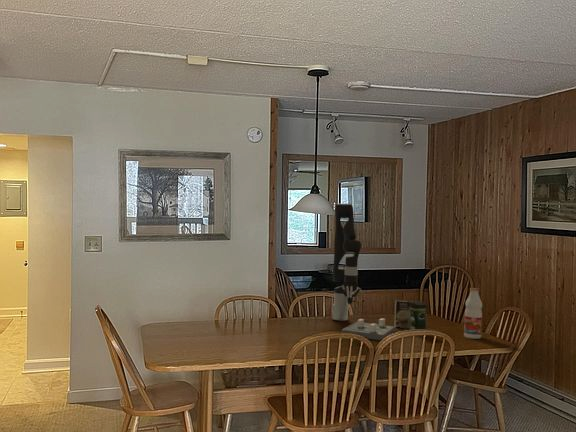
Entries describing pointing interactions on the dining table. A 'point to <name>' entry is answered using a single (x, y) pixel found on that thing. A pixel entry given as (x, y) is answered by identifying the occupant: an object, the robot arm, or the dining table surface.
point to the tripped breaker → (360, 323)
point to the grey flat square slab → (364, 331)
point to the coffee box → (402, 313)
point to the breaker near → (372, 327)
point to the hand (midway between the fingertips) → (350, 303)
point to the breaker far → (381, 322)
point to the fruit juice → (473, 315)
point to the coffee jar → (417, 315)
